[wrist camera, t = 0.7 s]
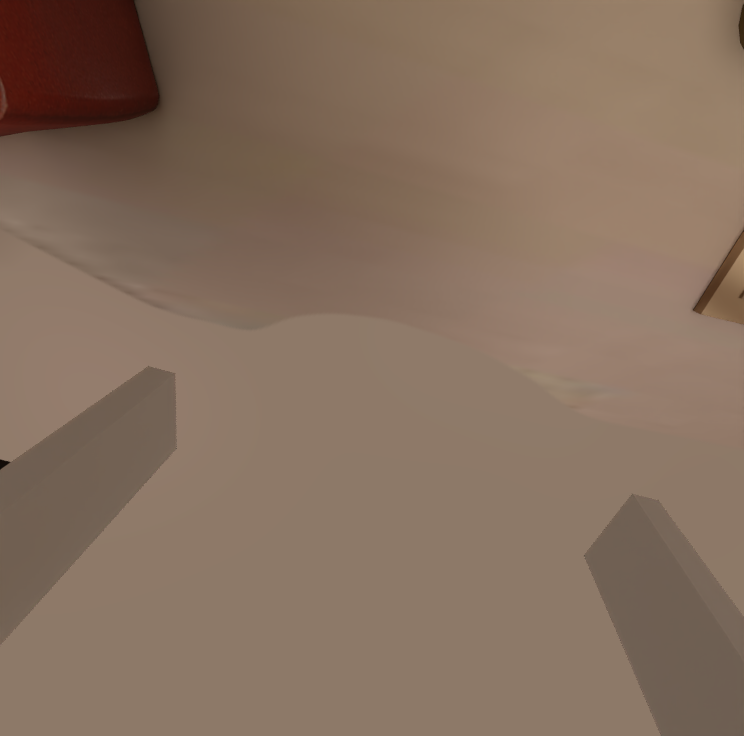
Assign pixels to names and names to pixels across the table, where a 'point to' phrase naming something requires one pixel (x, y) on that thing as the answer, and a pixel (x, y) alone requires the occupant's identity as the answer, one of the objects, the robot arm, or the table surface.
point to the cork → (742, 27)
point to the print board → (726, 288)
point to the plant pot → (72, 64)
